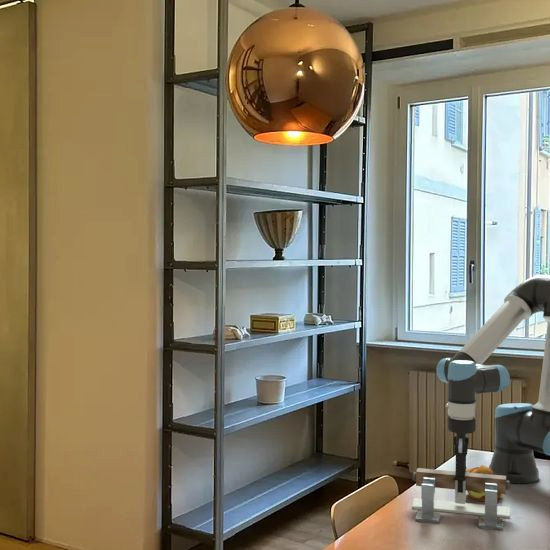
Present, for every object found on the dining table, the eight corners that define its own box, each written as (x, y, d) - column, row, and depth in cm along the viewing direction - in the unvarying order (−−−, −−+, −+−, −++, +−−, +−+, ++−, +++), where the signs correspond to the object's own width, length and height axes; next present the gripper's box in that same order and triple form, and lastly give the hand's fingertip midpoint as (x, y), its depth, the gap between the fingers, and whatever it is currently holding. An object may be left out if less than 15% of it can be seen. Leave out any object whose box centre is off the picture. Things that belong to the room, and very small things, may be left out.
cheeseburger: (506, 503, 205) (497, 469, 205) (468, 510, 207) (459, 476, 207) (502, 491, 215) (494, 458, 215) (465, 497, 217) (457, 465, 217)
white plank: (509, 509, 201) (509, 507, 201) (510, 518, 194) (510, 516, 194) (414, 500, 209) (414, 497, 209) (411, 508, 202) (411, 506, 202)
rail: (509, 490, 199) (509, 476, 199) (509, 494, 196) (510, 480, 196) (413, 481, 207) (413, 467, 207) (412, 485, 203) (412, 471, 203)
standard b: (502, 521, 192) (503, 484, 192) (502, 530, 186) (503, 492, 185) (479, 519, 194) (479, 482, 193) (478, 528, 187) (478, 489, 187)
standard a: (440, 515, 197) (440, 478, 196) (438, 523, 190) (438, 486, 190) (417, 512, 198) (418, 476, 198) (415, 521, 192) (415, 484, 192)
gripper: (449, 409, 210) (448, 490, 210) (445, 422, 194) (444, 509, 194) (476, 411, 207) (475, 492, 208) (474, 424, 192) (473, 512, 192)
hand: (460, 500), depth 201 cm, fingers closed on rail, 3 cm apart
